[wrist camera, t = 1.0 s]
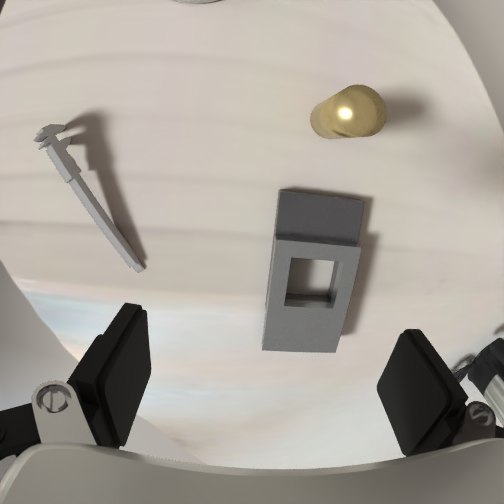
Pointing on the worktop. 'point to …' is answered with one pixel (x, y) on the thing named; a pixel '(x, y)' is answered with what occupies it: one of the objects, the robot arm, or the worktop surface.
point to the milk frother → (488, 376)
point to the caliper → (83, 190)
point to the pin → (349, 114)
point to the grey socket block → (311, 247)
